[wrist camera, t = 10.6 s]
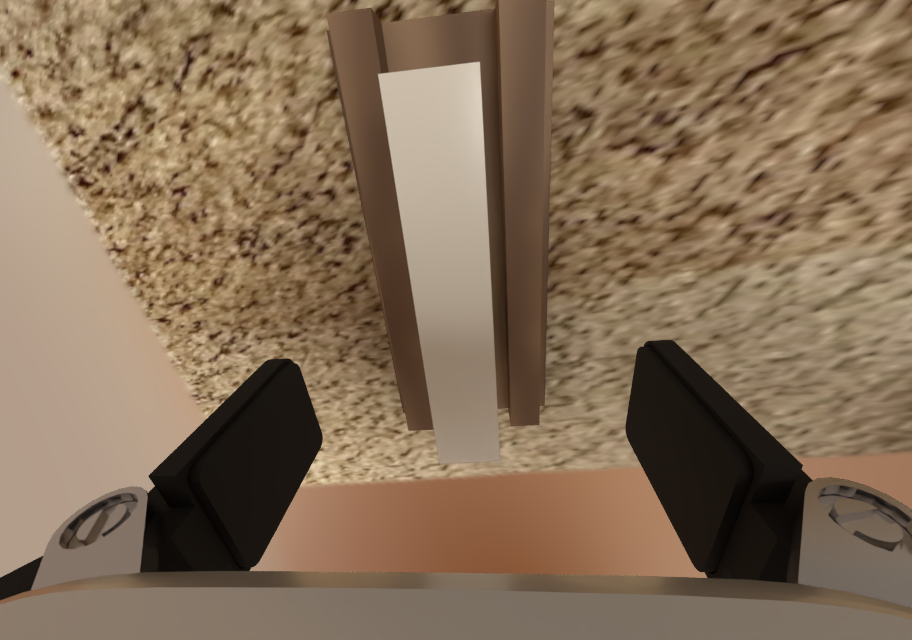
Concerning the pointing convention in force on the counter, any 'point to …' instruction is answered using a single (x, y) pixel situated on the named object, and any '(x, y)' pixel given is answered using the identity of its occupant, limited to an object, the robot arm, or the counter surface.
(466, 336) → the white rectangular slab
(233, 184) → the counter surface
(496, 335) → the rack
